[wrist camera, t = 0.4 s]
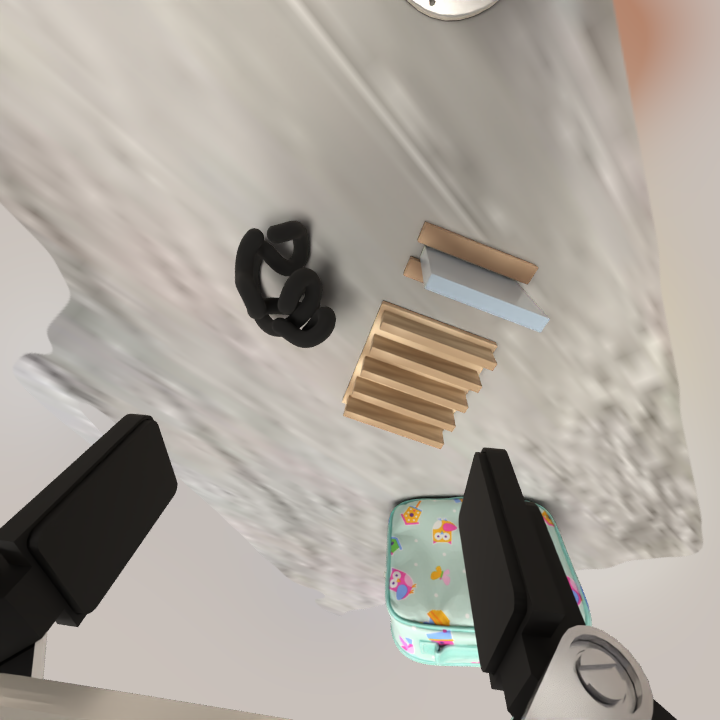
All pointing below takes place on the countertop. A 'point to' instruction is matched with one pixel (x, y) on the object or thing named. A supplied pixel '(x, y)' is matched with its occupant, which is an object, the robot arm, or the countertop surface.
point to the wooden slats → (469, 255)
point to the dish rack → (415, 375)
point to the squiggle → (295, 286)
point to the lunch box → (441, 582)
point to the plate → (480, 288)
